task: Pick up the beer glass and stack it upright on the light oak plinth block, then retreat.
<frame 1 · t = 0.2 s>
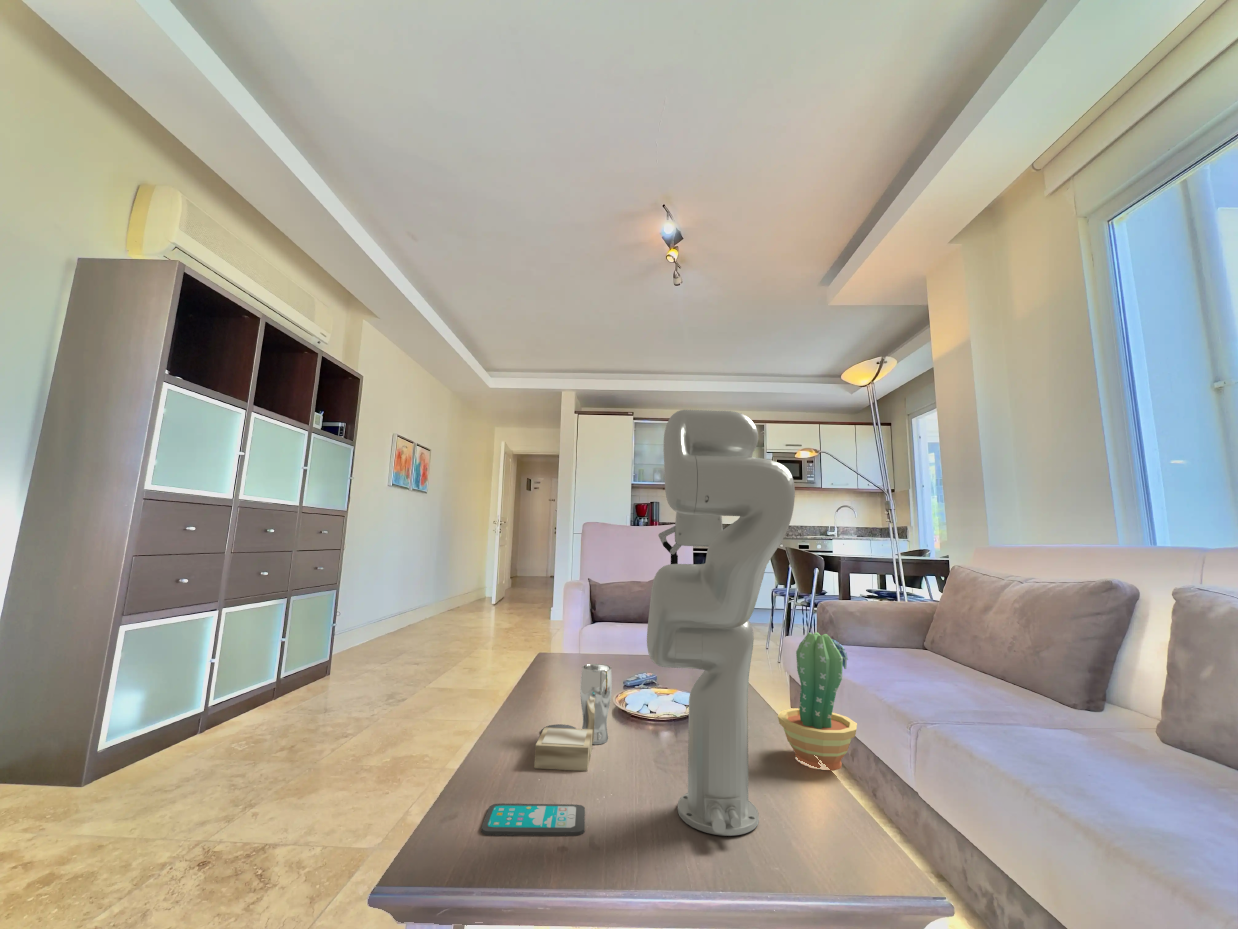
hand: (697, 573, 111), 36 cm above the table, tool pointing down, fingers open, 9 cm apart
oak plinth: (564, 758, 102), on the table
rubber coaster: (559, 732, 115), on the table
potted cactus: (817, 762, 105), on the table
beer glass: (594, 740, 112), on the table
smartphone: (534, 824, 78), on the table
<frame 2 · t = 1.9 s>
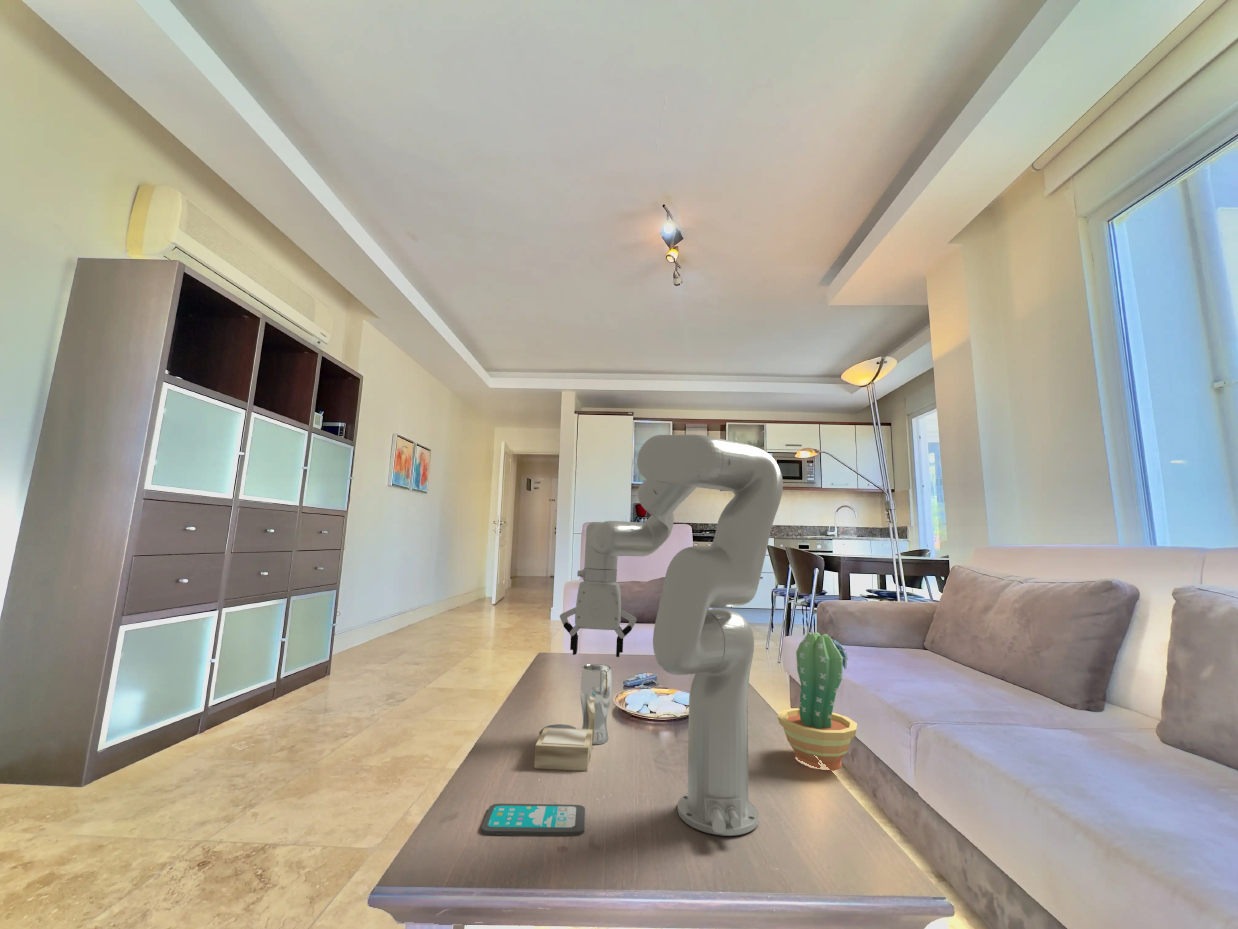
hand: (596, 654, 115), 18 cm above the table, tool pointing down, fingers open, 9 cm apart
nothing on the table moved.
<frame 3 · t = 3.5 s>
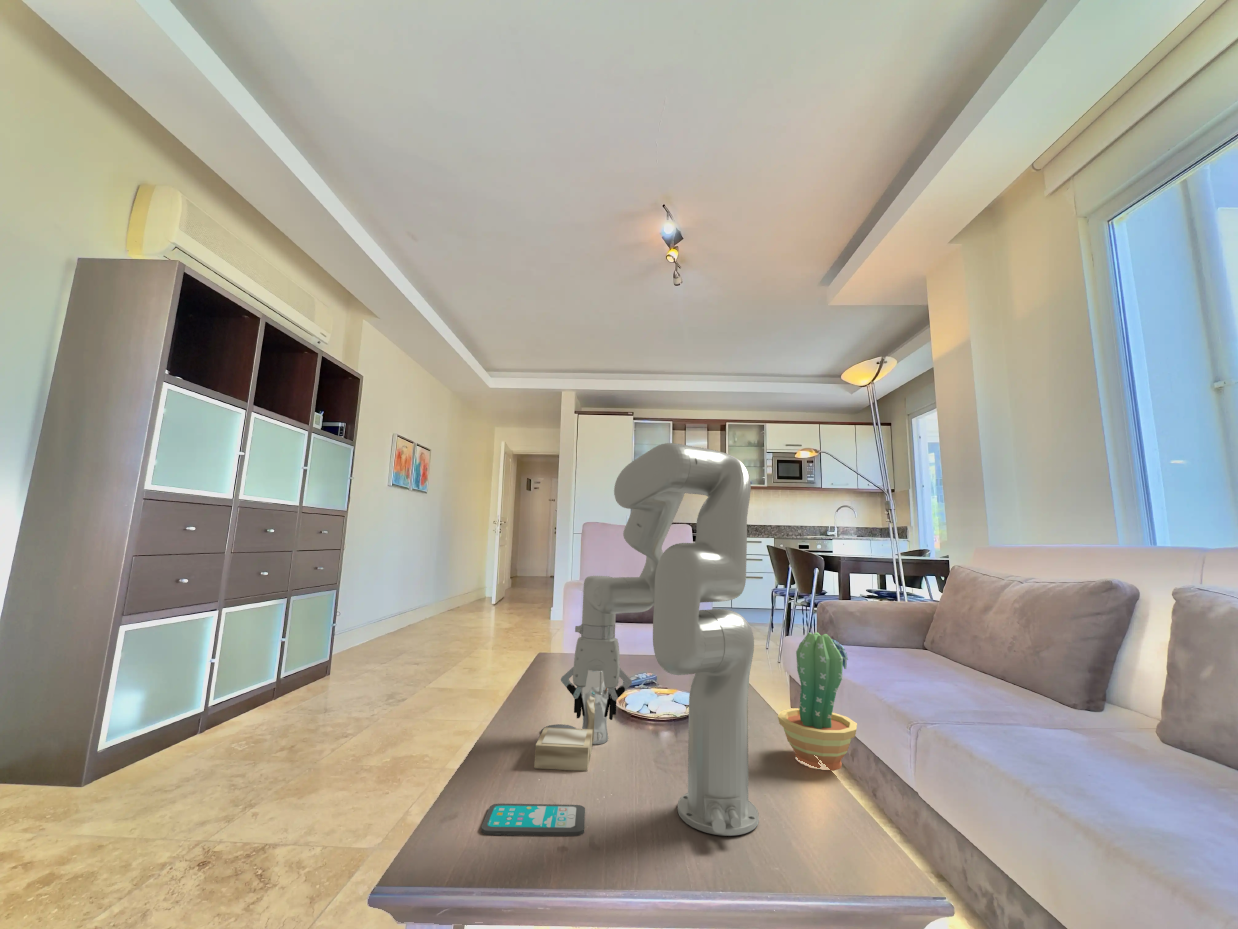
hand: (594, 716, 113), 5 cm above the table, tool pointing down, fingers closed on beer glass, 6 cm apart
beer glass: (594, 740, 112), on the table, touching gripper
everything else where it was.
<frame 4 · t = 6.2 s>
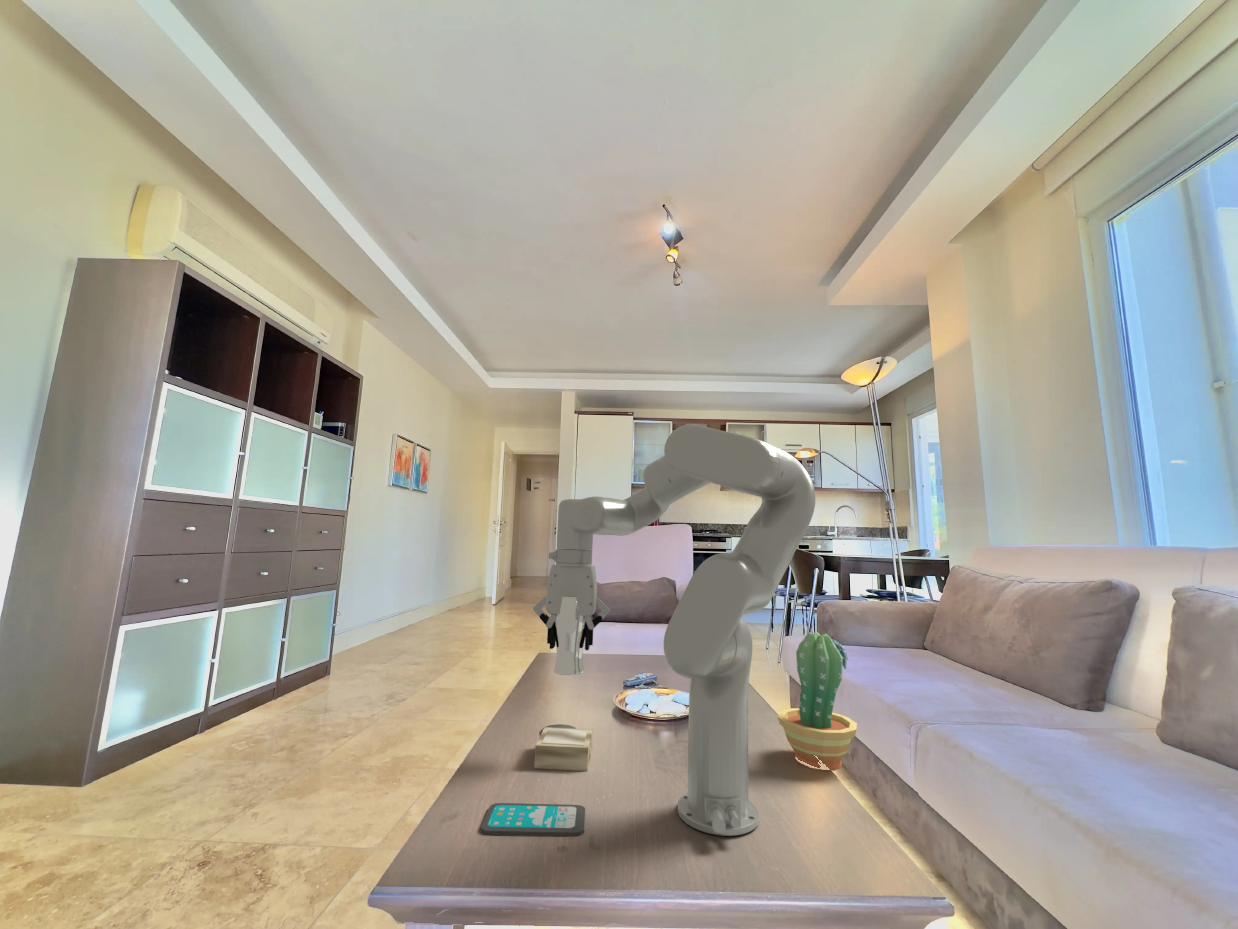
hand: (569, 647, 105), 21 cm above the table, tool pointing down, fingers closed on beer glass, 6 cm apart
beer glass: (568, 672, 104), point 16 cm above the table, touching gripper
everything else where it was.
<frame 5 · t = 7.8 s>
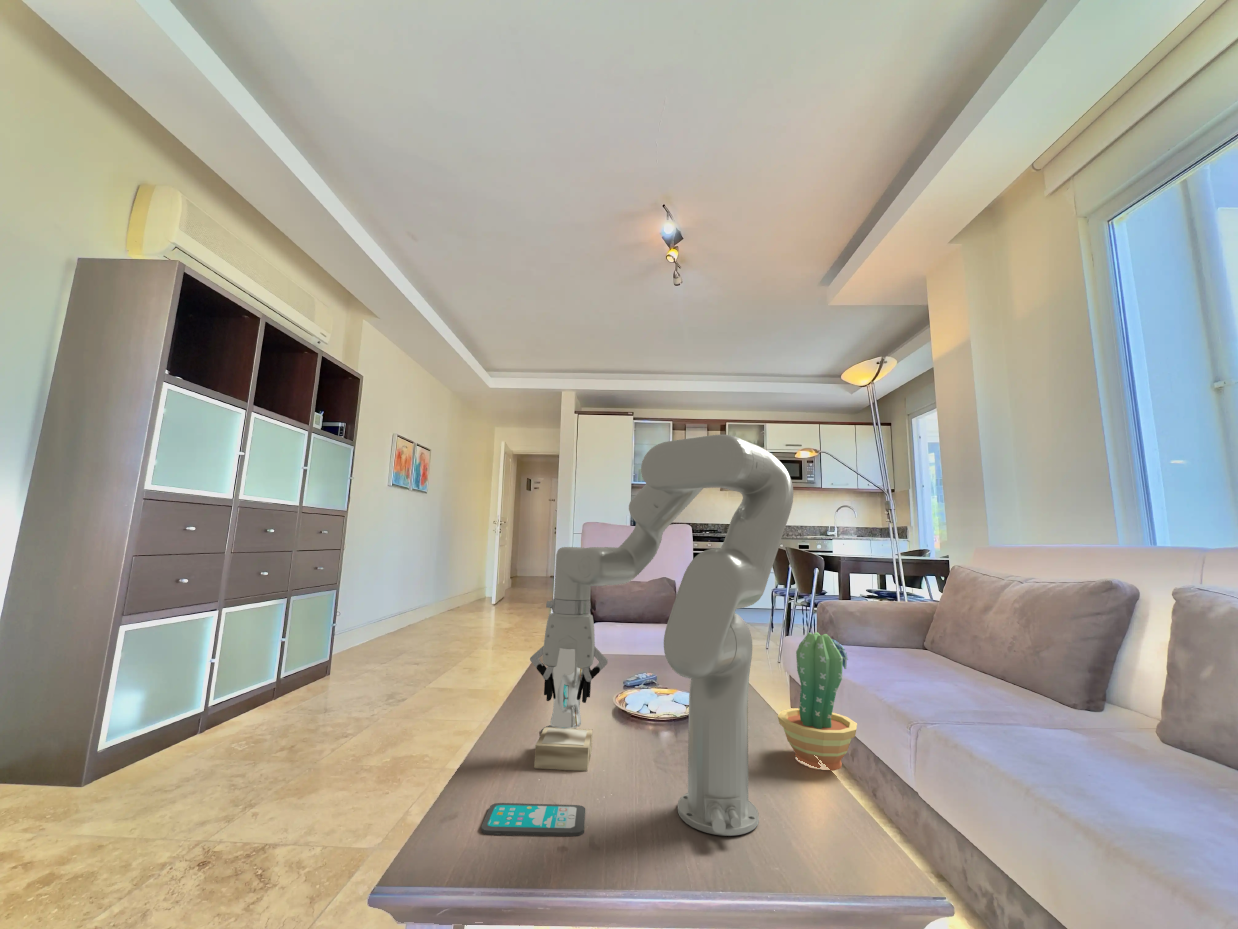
hand: (566, 699, 103), 11 cm above the table, tool pointing down, fingers closed on beer glass, 6 cm apart
beer glass: (565, 725, 103), point 6 cm above the table, touching gripper
everything else where it was.
when the fingers open (9 cm above the table, at t = 9.1 s): beer glass stays where it is, resting on oak plinth.
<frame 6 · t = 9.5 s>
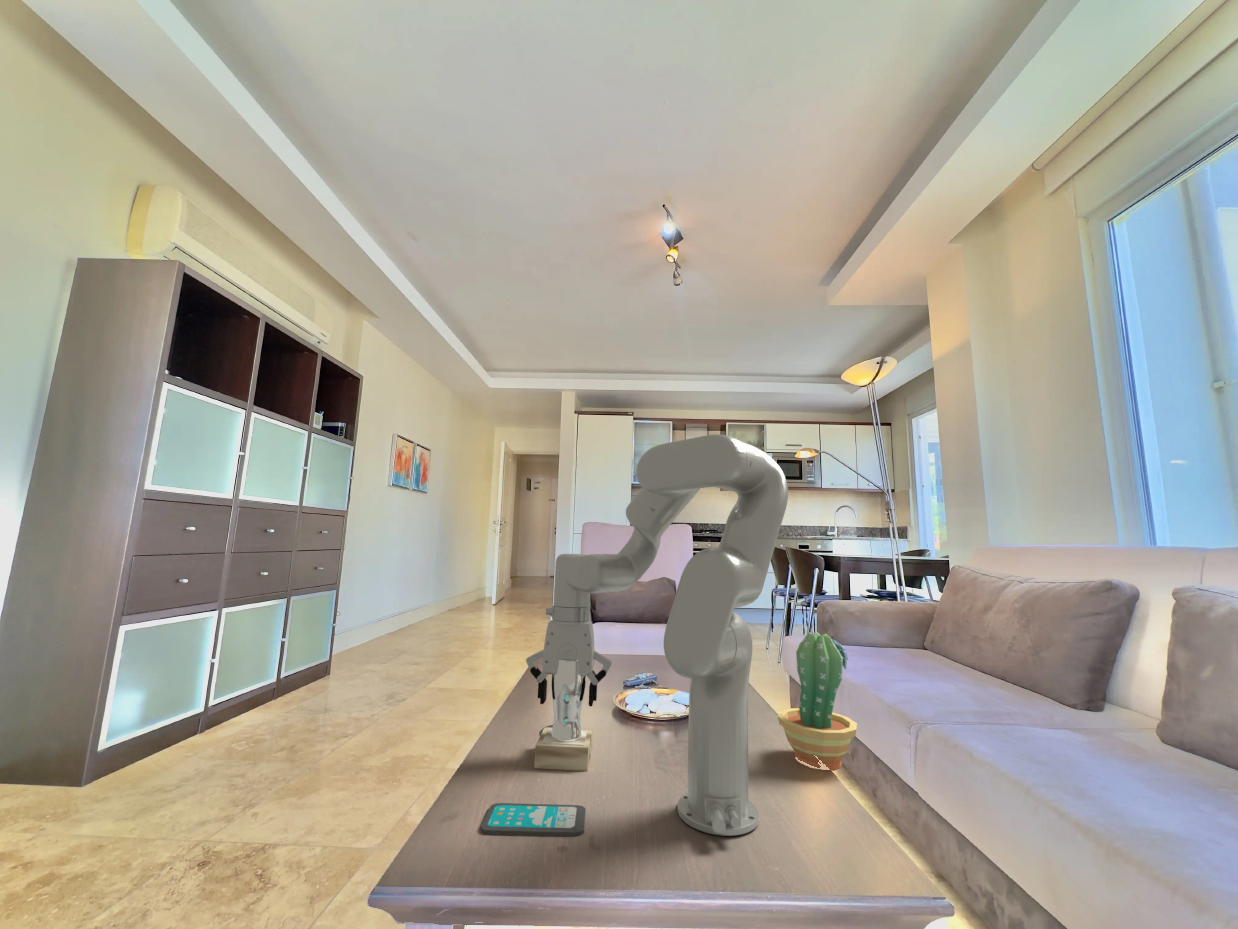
hand: (567, 703, 103), 10 cm above the table, tool pointing down, fingers open, 9 cm apart
beer glass: (566, 737, 102), point 4 cm above the table, touching oak plinth
everything else where it was.
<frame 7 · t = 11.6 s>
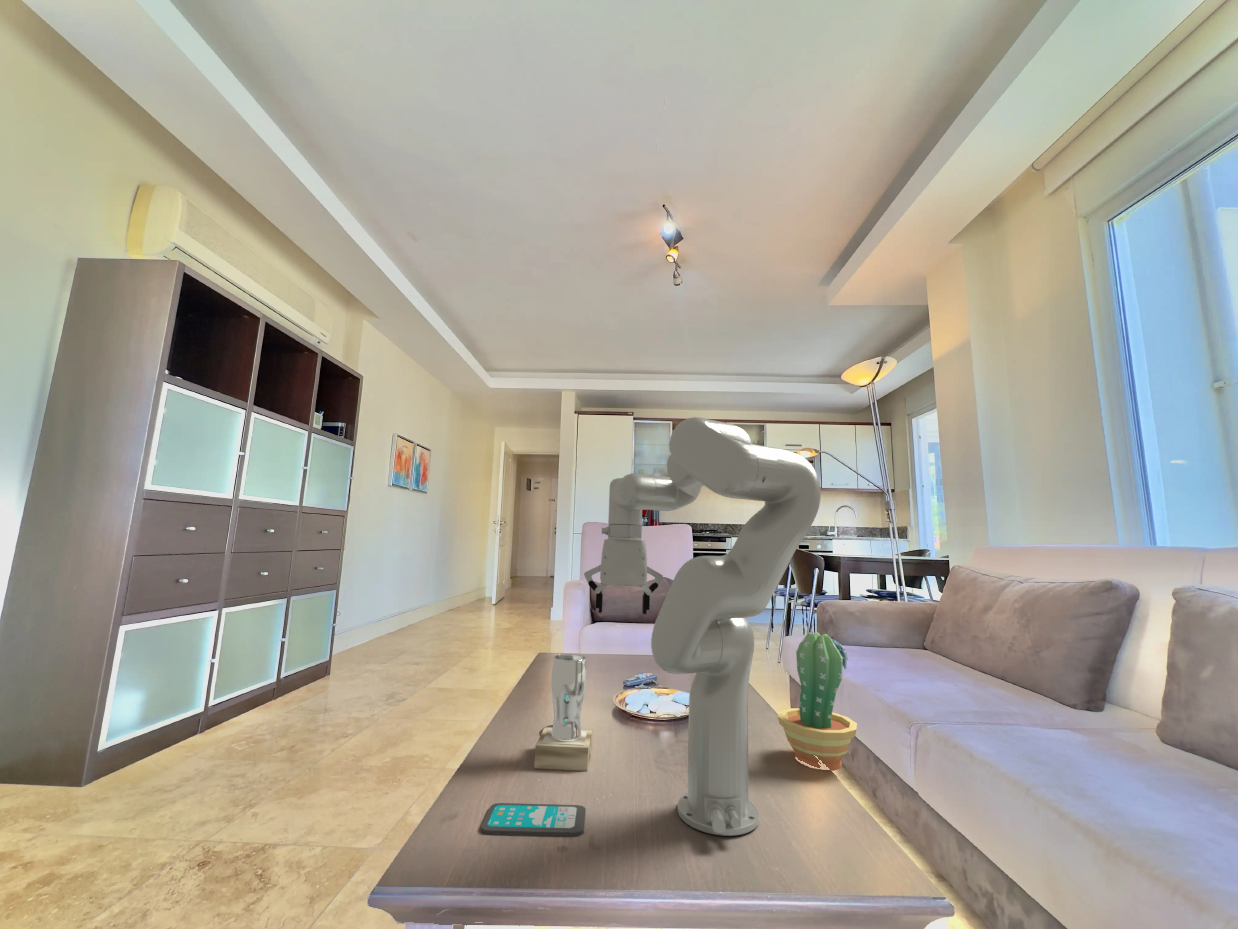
hand: (622, 612, 112), 27 cm above the table, tool pointing down, fingers open, 9 cm apart
nothing on the table moved.
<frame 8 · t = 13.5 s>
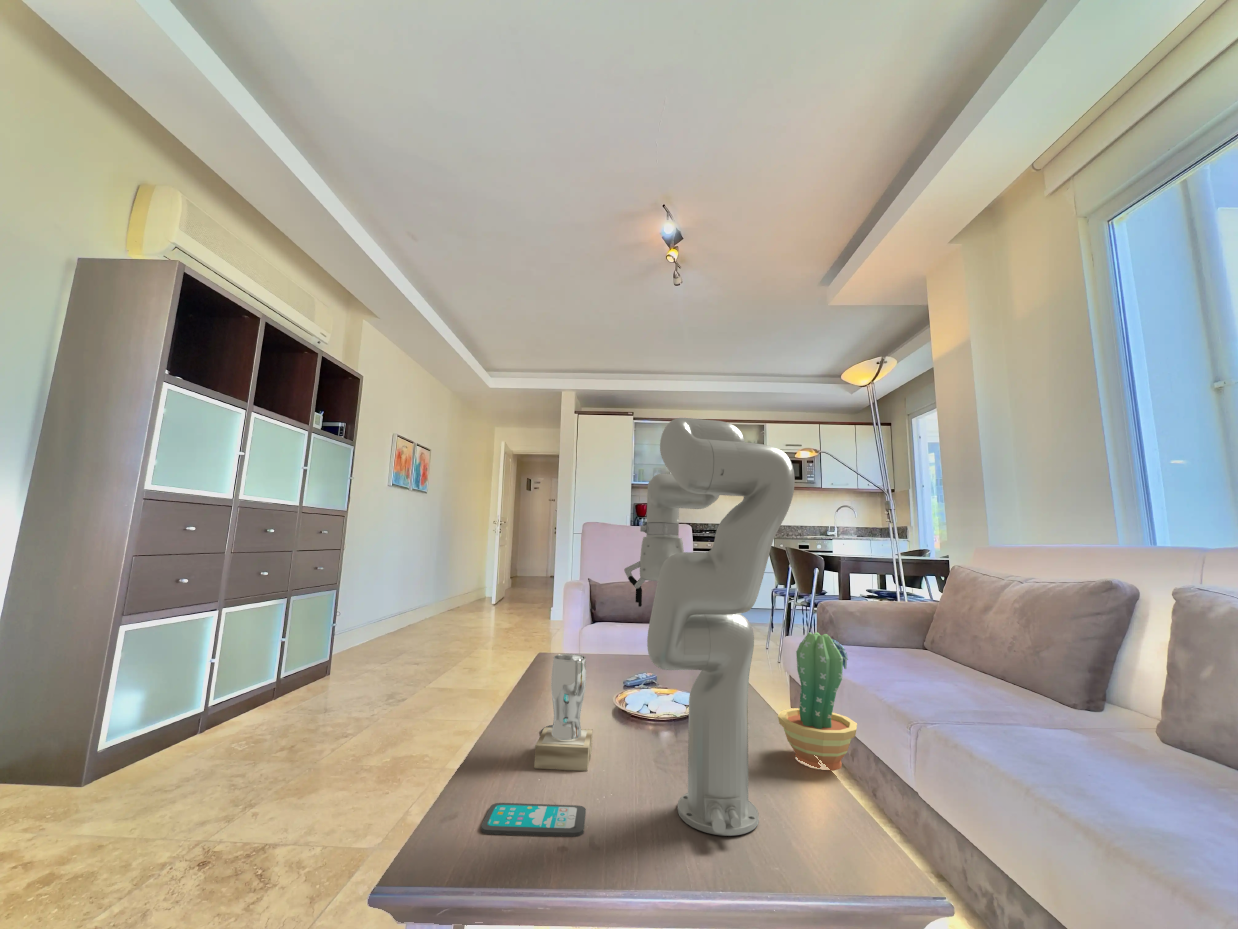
hand: (660, 606, 118), 28 cm above the table, tool pointing down, fingers open, 9 cm apart
nothing on the table moved.
at the end: beer glass inside the target area on the oak plinth (0.1 cm from its centre), point 4.0 cm above the oak plinth's base; beer glass tilted 0°; the gripper is holding nothing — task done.
